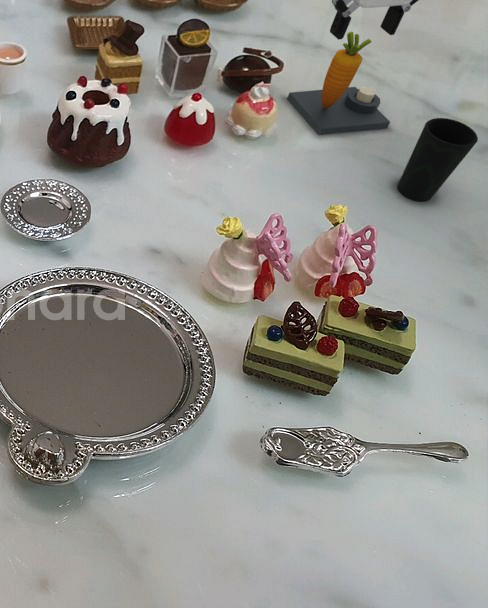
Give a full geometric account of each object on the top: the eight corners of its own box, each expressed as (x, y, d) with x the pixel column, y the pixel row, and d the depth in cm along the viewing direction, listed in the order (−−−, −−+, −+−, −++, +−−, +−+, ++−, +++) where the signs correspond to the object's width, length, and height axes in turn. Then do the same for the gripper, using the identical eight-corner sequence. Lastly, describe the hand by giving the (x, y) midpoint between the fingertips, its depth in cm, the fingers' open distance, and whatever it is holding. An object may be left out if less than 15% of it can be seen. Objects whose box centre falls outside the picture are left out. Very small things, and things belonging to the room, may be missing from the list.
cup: (429, 212, 124) (469, 152, 115) (383, 191, 127) (418, 131, 118) (445, 190, 127) (484, 131, 119) (400, 171, 131) (435, 111, 122)
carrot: (344, 110, 141) (380, 35, 129) (327, 119, 139) (363, 43, 127) (322, 98, 143) (355, 23, 132) (305, 106, 141) (338, 31, 130)
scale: (353, 92, 147) (360, 79, 145) (388, 128, 140) (396, 114, 137) (286, 98, 145) (292, 85, 143) (318, 135, 138) (324, 121, 135)
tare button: (366, 94, 142) (370, 86, 141) (374, 102, 140) (378, 94, 139) (352, 95, 142) (356, 87, 141) (360, 103, 140) (364, 95, 139)
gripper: (370, -58, 113) (326, 48, 126) (472, -65, 116) (419, 40, 128) (343, -77, 118) (304, 27, 131) (441, -83, 121) (393, 19, 133)
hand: (361, 33), depth 129 cm, fingers open, 9 cm apart
